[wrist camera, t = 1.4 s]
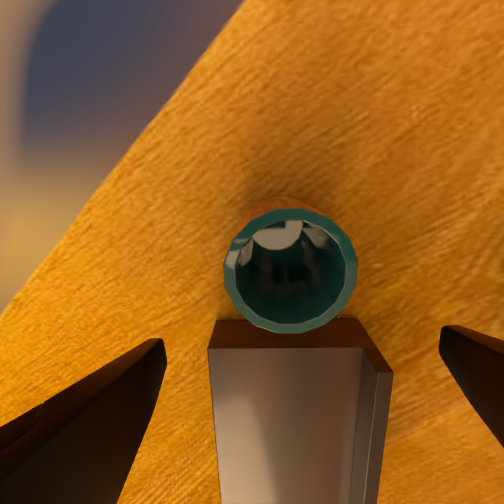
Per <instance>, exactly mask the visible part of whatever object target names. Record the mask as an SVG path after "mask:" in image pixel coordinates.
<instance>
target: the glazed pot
mask: <svg viewBox="0 0 504 504" xmlns="http://www.w3.org/2000/svg"><path fill="white" fill-rule="evenodd" d="M223 268H224V283H225V289H226V291H227V293H228V295H229V297H230V299H231V301H232V303H233V305H234V307H235V308H236V309H237V311H238V312H240V313H241V314H242V315H243V316H244V317H245V318H247V319H248V320H249V321H250V322H251V323H252V324H255V326H258V327H261V328H264V329H267V330H269V331H272V332H275V333H304V332H306V331H309V330H312V329H314V328H317V327H320V326H323V325H325V324H327V323H328V322H329V321H330V320H331V319H332V318H334V317H335V316H336V315H337V314H338V313H340V312H341V311H342V310H343V309H344V308H345V306H346V304H347V302H348V300H349V299H350V297H351V295H352V293H353V291H354V289H355V287H356V281H357V268H358V259H357V256H356V254H355V251H354V248H353V246H352V243H351V240H350V238H349V237H348V235H347V234H346V233H345V232H344V231H343V230H342V229H341V228H340V227H339V226H338V225H337V224H336V223H335V222H334V221H333V220H332V219H331V218H329V217H328V216H326V215H324V214H323V213H321V212H320V211H318V210H316V209H315V208H313V207H312V206H310V205H308V204H307V203H305V202H303V201H300V200H298V199H295V198H292V197H289V196H274V197H270V198H266V199H264V200H262V201H260V202H258V203H256V204H255V205H254V206H252V207H251V208H250V209H249V210H248V212H247V213H246V214H245V215H244V216H243V218H242V220H241V222H240V224H239V226H238V228H237V230H236V232H235V235H234V237H233V239H232V241H231V244H230V246H229V249H228V252H227V255H226V257H225V260H224V264H223Z"/></svg>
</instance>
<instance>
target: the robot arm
mask: <svg viewBox="0 0 504 504" xmlns="http://www.w3.org/2000/svg"><path fill="white" fill-rule="evenodd" d="M439 354H440V356H441V358H442V359H443V361H444V363H445V364H446V366H447V367H448V369H449V371H450V372H451V374H452V376H453V377H454V379H455V380H456V382H457V384H458V385H459V387H460V388H461V390H462V392H463V393H464V395H465V396H466V398H467V399H468V401H469V402H470V404H471V405H472V406H473V408H474V409H475V411H476V412H477V413H478V415H479V416H480V417H481V419H482V420H483V421H484V423H485V424H486V425H487V426H488V428H489V429H490V430H491V432H492V433H493V434H494V436H495V437H496V438H497V440H498V441H499V442H500V444H501V445H502V446H503V448H504V341H503V340H500V339H497V338H494V337H491V336H488V335H485V334H482V333H479V332H477V331H474V330H471V329H468V328H465V327H462V326H459V325H446V326H443V327H442V329H441V334H440V341H439ZM166 367H167V357H166V352H165V346H164V341H163V339H161V338H151V339H148V340H146V341H145V342H143V343H141V344H140V345H138V346H136V347H135V348H133V349H131V350H130V351H128V352H126V353H125V354H123V355H121V356H120V357H118V358H116V359H115V360H113V361H111V362H110V363H108V364H106V365H105V366H103V367H101V368H100V369H98V370H96V371H95V372H93V373H91V374H90V375H88V376H86V377H85V378H83V379H81V380H80V381H78V382H76V383H74V384H73V385H71V386H69V387H68V388H66V389H64V390H63V391H61V392H59V393H58V394H56V395H54V396H53V397H51V398H49V399H48V400H46V401H44V402H43V404H39V405H37V406H36V407H34V408H32V409H31V410H29V411H28V412H26V413H24V414H22V415H21V416H19V417H17V418H16V419H14V420H12V421H10V422H9V423H7V424H5V425H3V426H2V427H0V504H117V501H118V499H119V496H120V494H121V491H122V489H123V486H124V484H125V481H126V479H127V476H128V474H129V472H130V469H131V467H132V464H133V462H134V459H135V457H136V454H137V452H138V449H139V447H140V444H141V442H142V439H143V437H144V434H145V432H146V429H147V427H148V424H149V422H150V419H151V417H152V414H153V411H154V408H155V405H156V402H157V398H158V395H159V391H160V388H161V384H162V381H163V377H164V374H165V370H166Z"/></svg>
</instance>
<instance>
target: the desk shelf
mask: <svg viewBox="0 0 504 504" xmlns="http://www.w3.org/2000/svg"><path fill="white" fill-rule="evenodd" d="M207 351H208V362H209V373H210V384H211V396H212V407H213V418H214V429H215V440H216V451H217V462H218V473H219V484H220V496H221V504H377V498H378V490H379V482H380V474H381V467H382V459H383V451H384V443H385V436H386V428H387V420H388V412H389V405H390V397H391V389H392V381H393V374H394V373H393V371H392V369H391V368H390V366H389V365H388V363H387V362H386V360H385V359H384V357H383V356H382V354H381V353H380V351H379V350H378V348H377V347H376V345H375V344H374V342H373V341H372V339H371V338H370V336H369V335H368V333H367V332H366V330H365V329H364V327H363V326H362V324H361V323H360V321H359V320H358V319H331V320H330V321H329V322H328V323H327V324H325V325H323V326H320V327H317V328H314V329H312V330H309V331H306V332H304V333H275V332H272V331H269V330H267V329H264V328H261V327H258V326H255V324H252V323H251V322H250V321H249V320H216V323H215V326H214V329H213V332H212V336H211V339H210V342H209V345H208V348H207Z"/></svg>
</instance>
